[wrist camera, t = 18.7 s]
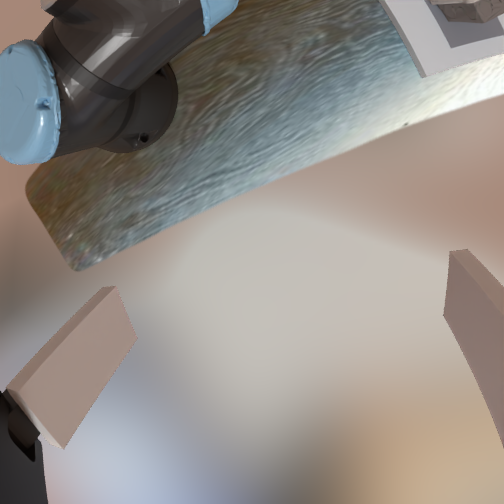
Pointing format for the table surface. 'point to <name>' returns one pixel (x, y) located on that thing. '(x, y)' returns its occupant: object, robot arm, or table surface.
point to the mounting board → (442, 36)
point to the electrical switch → (470, 10)
